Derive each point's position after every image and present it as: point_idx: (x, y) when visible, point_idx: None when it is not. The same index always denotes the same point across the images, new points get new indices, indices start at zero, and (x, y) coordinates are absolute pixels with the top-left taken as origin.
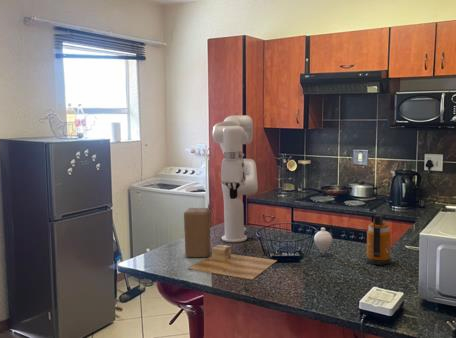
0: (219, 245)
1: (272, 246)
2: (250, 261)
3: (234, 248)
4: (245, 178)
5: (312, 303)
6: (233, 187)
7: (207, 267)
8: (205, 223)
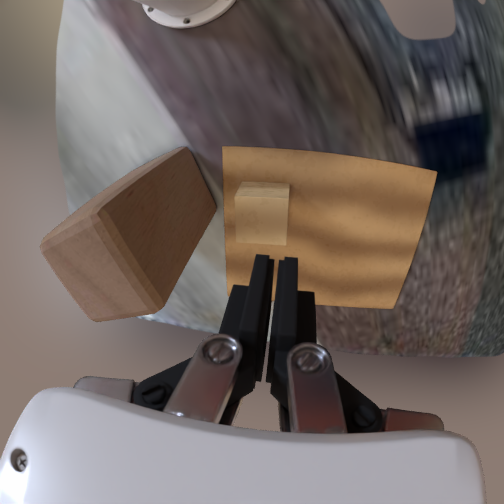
0: (245, 205)
1: (377, 18)
2: (365, 202)
3: (250, 79)
4: (469, 480)
5: (474, 343)
6: (283, 413)
7: None
8: (177, 278)
